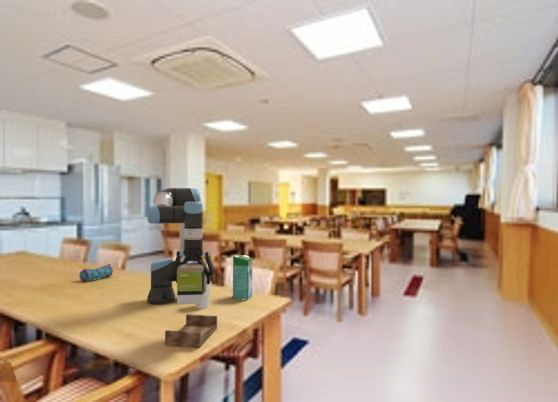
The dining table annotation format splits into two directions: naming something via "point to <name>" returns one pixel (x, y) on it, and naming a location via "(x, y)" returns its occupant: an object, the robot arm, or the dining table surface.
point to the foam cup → (205, 299)
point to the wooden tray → (192, 331)
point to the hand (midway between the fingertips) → (193, 291)
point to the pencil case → (96, 273)
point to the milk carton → (242, 277)
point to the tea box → (190, 283)
